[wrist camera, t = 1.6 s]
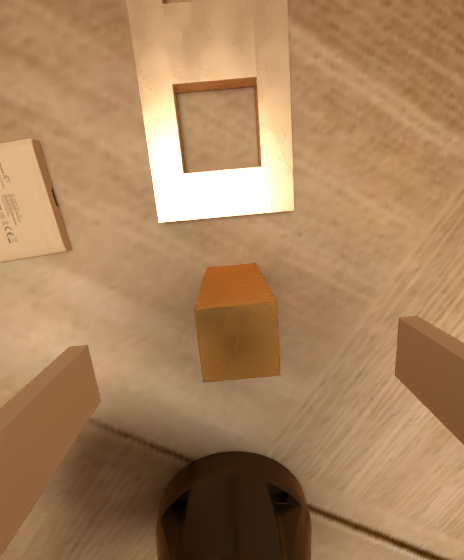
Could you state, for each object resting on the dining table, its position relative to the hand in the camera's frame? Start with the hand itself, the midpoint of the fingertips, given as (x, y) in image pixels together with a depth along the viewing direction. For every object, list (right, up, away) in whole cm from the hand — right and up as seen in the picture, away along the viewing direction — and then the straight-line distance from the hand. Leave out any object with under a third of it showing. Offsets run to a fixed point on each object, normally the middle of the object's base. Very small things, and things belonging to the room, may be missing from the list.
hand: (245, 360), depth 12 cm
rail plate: (-2, +19, +8) cm, 21 cm away
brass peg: (0, +3, +12) cm, 12 cm away
